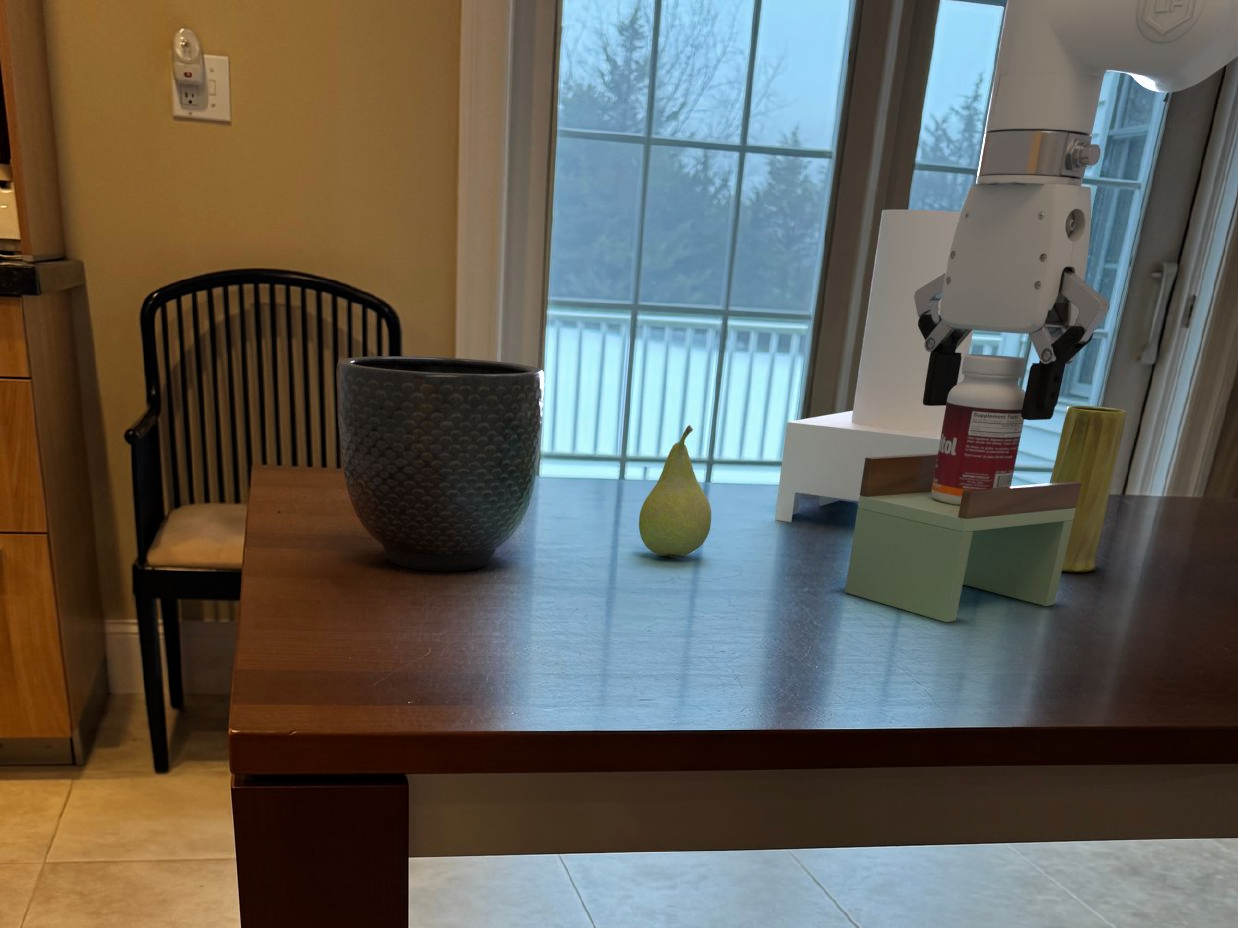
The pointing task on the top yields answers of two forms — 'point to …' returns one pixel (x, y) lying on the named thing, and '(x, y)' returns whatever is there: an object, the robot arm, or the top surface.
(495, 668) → the top surface
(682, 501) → the fruit
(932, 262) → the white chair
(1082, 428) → the vase
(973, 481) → the pill bottle
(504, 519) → the planter
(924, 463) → the stand
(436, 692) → the top surface
